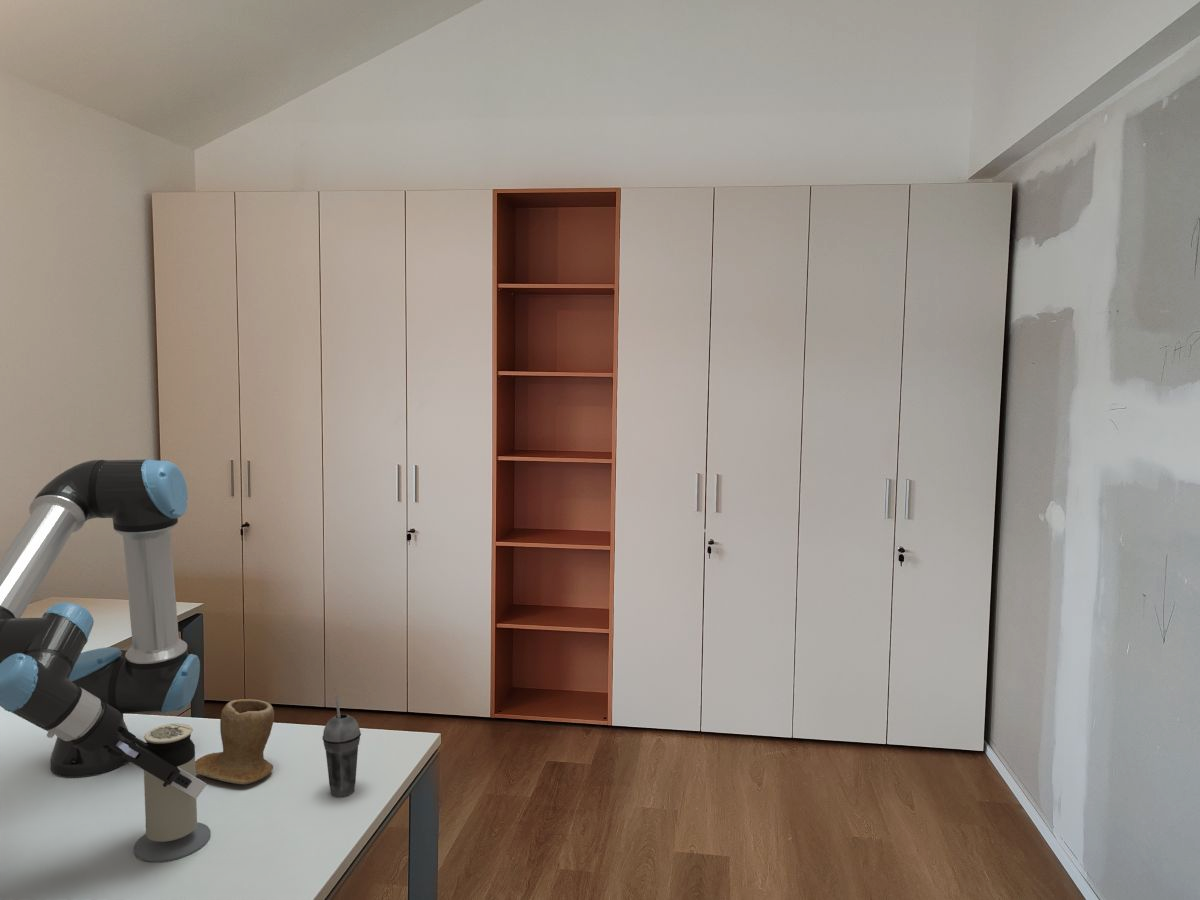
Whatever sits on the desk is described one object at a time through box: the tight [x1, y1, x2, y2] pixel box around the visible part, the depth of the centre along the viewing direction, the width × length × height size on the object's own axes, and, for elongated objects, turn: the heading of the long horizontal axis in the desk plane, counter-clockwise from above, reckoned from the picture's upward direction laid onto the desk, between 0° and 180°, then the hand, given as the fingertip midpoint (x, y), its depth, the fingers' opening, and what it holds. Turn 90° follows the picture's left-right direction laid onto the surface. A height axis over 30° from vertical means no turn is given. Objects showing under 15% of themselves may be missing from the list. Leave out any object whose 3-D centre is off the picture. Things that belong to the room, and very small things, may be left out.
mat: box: [133, 821, 212, 863], centre depth 147 cm, size 12×12×1 cm
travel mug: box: [143, 723, 198, 842], centre depth 146 cm, size 8×8×18 cm
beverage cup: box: [321, 695, 362, 798], centre depth 164 cm, size 7×7×20 cm
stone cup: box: [195, 698, 275, 785], centre depth 171 cm, size 15×12×15 cm
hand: (190, 782), depth 148 cm, fingers closed on travel mug, 8 cm apart
